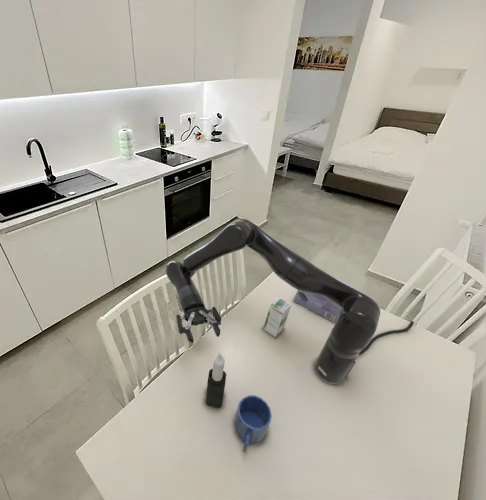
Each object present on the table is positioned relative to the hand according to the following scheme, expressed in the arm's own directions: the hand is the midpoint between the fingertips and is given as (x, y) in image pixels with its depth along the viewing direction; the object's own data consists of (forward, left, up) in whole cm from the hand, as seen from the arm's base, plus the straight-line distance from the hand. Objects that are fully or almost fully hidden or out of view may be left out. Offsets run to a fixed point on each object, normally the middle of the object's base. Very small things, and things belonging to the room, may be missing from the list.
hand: (205, 338), depth 88 cm
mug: (-10, +21, -17) cm, 29 cm away
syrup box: (-30, -13, -17) cm, 37 cm away
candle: (-2, +11, -17) cm, 20 cm away
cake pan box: (-52, -21, -17) cm, 59 cm away
